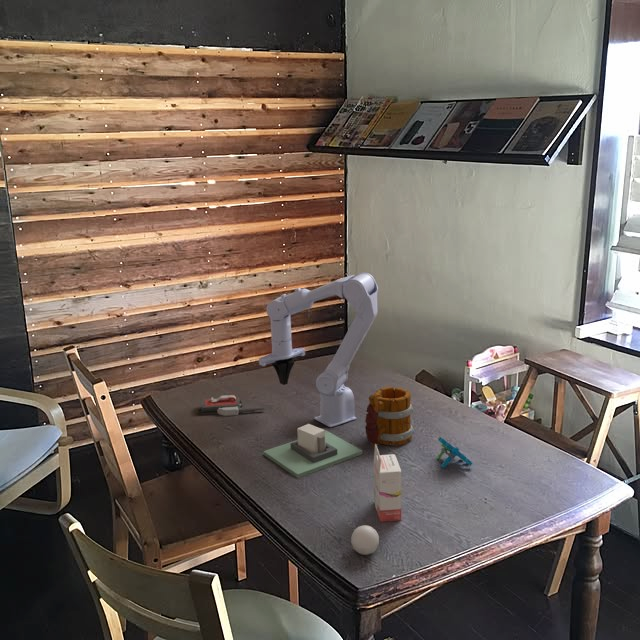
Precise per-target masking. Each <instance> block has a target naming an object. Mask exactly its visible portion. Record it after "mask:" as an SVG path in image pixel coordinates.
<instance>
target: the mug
mask: <svg viewBox="0 0 640 640" xmlns="http://www.w3.org/2000/svg"><path fill="white" fill-rule="evenodd" d="M411 398H412V394H411V392H410V391H409V390H407V389H405V388H402V387H394V386H386V387H385V386H384V387H382V388H380V389H378V390H376V391H374V394H370V395H369V396H368V401H369V404H368V406H367V408H366V414H365V415H366V416H365V427H364V429H365V434H366V436H367V440H368V442H369V443H370V444H371V446H372V447H375V444H376V446H377V447H378V445H379V444H381V445H384V446H394V447H396V446H402V445H406V444H408V443H410V442H412V439H413V434H414V432H415V430H414V427H413V425H412V423H411V422H412V421H411V420H412V419H411V414H412V413H413V411H414V408H413V405H412V403H411V402H412V401H411V400H412V399H411Z"/></svg>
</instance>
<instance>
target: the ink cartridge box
mask: <svg viewBox="0 0 640 640" xmlns="http://www.w3.org/2000/svg"><path fill="white" fill-rule="evenodd" d="M373 490H374V491H373V503H374V507H375V510H376V512H377V516H378V519H379V522H380V523H381V522H395V521H398V522H399V521H402V469H401V466H400V464H399V461H398V459H397V455H396V454H381V455H380V451H379V449H378V445H377V446H376V444H375V446H374V452H373Z"/></svg>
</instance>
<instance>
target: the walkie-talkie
mask: <svg viewBox="0 0 640 640" xmlns="http://www.w3.org/2000/svg"><path fill="white" fill-rule="evenodd" d="M200 402H201V403H200V408H199V409H198V410H197V411H196V412H197V414H201V415H203V416H204V415H217V414H219V415H220V416H224V417H227V416H229V417H230V416H239V414H243V413H254V412H256V411H257V412H258V411H264V410H266V408H265V407H263V406H262V407H250V408H242V407H243V400H242V398H241V399H240V397H238V396H235V395H234V394H229V395H227V394H226V395H220V396H219V397H217V398H214V397H213V396H212V397H210V398H207V399H201V401H200Z"/></svg>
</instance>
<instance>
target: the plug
mask: <svg viewBox="0 0 640 640" xmlns="http://www.w3.org/2000/svg"><path fill="white" fill-rule="evenodd" d="M325 430H326V429H324V428H320V427H317V426H315V425H313V424H310V423H307V424H304V425H302V426H299V427H297V430H296V433H297V440H298V445H299V446H300V447H302V448H304V449H305V450H307V451H309V452H310V453H312V454H313V453H316V452H317V453H322V452H325V449H326V447H325Z"/></svg>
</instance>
